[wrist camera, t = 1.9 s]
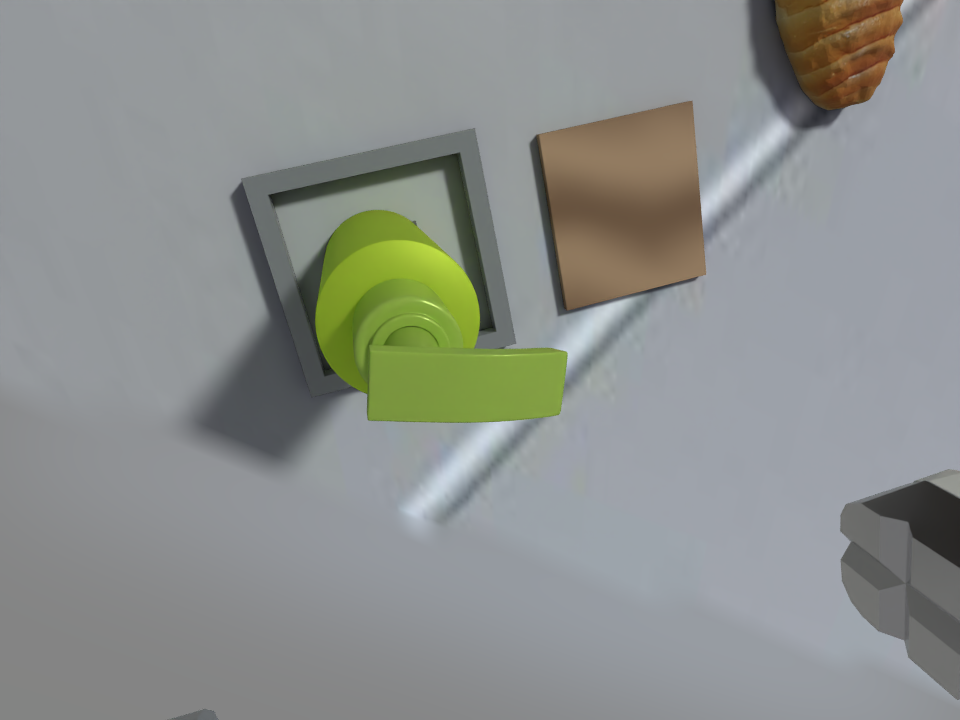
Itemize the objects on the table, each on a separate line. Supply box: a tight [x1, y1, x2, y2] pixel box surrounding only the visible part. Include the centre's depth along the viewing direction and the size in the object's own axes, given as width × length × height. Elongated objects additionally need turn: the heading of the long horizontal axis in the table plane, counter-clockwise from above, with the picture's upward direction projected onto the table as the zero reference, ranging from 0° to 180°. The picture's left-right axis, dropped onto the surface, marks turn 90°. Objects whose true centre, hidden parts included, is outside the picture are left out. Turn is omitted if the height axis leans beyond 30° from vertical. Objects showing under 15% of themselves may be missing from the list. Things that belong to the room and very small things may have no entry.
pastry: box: [775, 0, 903, 110], centre depth 34 cm, size 9×7×4 cm
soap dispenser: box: [315, 210, 567, 423], centre depth 26 cm, size 6×7×20 cm
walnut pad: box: [537, 101, 706, 311], centre depth 36 cm, size 10×9×1 cm
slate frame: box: [241, 128, 516, 397], centre depth 34 cm, size 12×12×1 cm
